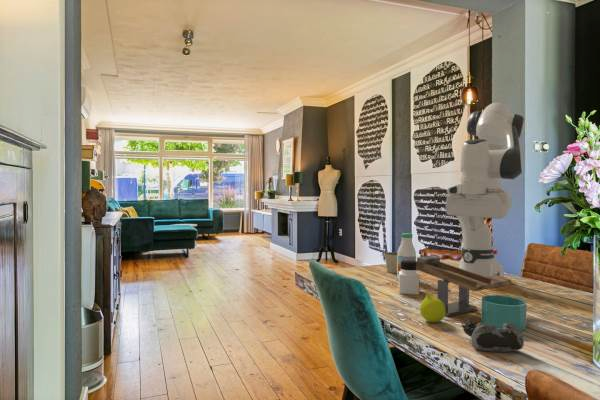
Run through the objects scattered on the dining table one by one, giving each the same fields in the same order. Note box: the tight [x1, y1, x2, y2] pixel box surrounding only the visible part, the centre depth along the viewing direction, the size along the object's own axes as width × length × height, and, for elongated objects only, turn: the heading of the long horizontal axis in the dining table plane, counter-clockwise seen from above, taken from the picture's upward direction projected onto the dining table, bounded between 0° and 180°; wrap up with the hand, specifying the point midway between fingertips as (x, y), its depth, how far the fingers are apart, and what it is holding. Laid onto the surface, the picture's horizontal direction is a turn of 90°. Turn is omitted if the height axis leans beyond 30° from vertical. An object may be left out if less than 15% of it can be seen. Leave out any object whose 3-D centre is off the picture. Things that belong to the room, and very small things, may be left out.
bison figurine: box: [461, 319, 525, 353], centre depth 100 cm, size 12×7×10 cm
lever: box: [416, 255, 512, 292], centre depth 133 cm, size 19×22×5 cm
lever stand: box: [436, 279, 478, 318], centre depth 129 cm, size 14×7×10 cm, turn 123°
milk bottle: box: [396, 232, 417, 282], centre depth 172 cm, size 8×8×20 cm
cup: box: [480, 294, 527, 332], centre depth 116 cm, size 11×11×7 cm
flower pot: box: [383, 251, 398, 274], centre depth 191 cm, size 9×9×9 cm
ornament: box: [419, 288, 446, 323], centre depth 118 cm, size 7×7×10 cm
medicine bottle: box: [398, 260, 421, 295], centre depth 153 cm, size 7×7×12 cm
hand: (474, 230), depth 134 cm, fingers closed
